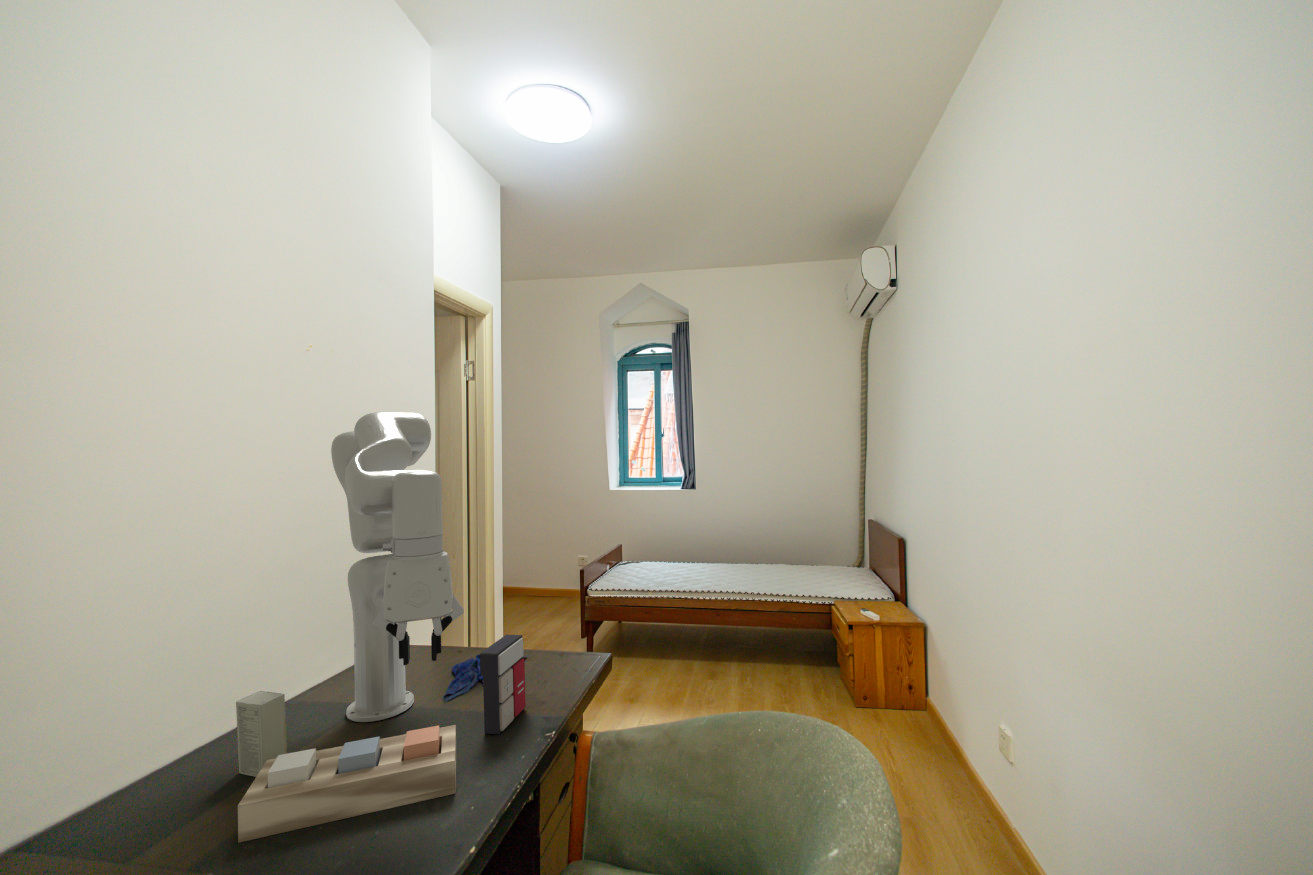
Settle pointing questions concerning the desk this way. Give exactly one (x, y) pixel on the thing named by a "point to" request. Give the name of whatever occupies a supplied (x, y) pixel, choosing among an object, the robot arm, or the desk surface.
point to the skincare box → (260, 730)
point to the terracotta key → (422, 742)
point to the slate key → (359, 755)
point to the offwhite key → (292, 768)
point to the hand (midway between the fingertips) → (420, 659)
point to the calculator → (503, 682)
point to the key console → (347, 788)
